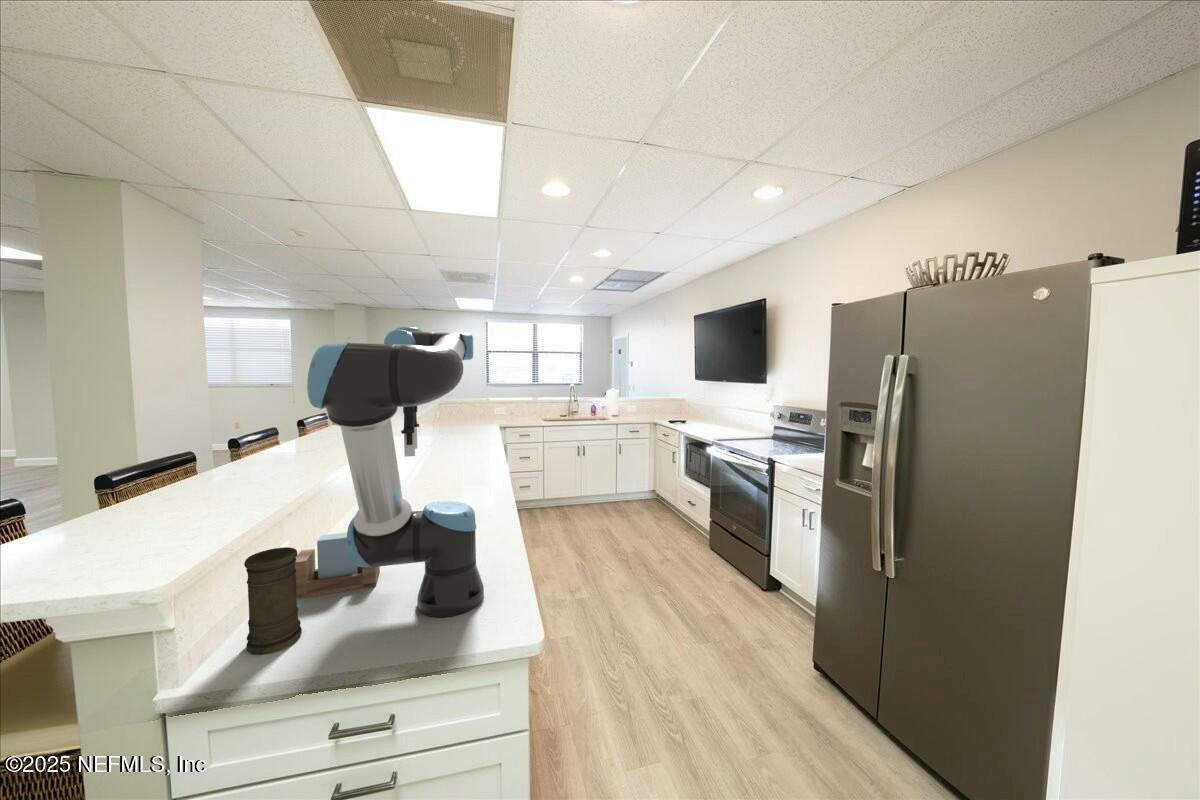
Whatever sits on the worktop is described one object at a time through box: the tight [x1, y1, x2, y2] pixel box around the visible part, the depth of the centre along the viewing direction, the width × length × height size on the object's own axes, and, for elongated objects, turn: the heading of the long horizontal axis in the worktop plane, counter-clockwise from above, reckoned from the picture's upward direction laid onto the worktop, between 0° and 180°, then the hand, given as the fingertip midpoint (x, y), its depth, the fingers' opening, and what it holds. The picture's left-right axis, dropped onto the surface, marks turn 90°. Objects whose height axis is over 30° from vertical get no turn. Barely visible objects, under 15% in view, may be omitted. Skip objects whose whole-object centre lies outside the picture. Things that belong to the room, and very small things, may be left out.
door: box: [316, 532, 358, 579], centre depth 107 cm, size 4×8×12 cm, turn 111°
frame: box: [295, 548, 381, 599], centre depth 108 cm, size 8×18×9 cm, turn 111°
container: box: [243, 546, 303, 656], centre depth 84 cm, size 9×9×18 cm
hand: (411, 452), depth 123 cm, fingers open, 13 cm apart
